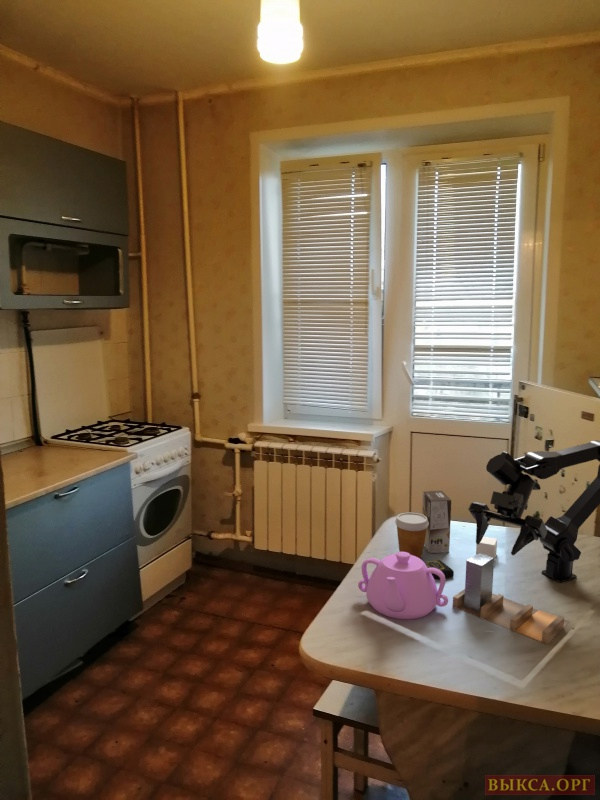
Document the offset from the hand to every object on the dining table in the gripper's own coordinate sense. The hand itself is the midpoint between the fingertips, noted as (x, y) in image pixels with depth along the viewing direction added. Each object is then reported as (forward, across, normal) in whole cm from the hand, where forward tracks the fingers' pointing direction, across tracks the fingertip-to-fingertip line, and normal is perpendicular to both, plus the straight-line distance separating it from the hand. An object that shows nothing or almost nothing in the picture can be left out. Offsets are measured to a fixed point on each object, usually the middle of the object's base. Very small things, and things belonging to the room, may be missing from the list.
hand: (494, 549), depth 149 cm
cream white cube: (-6, -13, +25) cm, 29 cm away
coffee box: (-3, -27, +22) cm, 35 cm away
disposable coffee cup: (+5, -28, +14) cm, 32 cm away
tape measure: (+9, -16, +11) cm, 21 cm away
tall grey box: (+14, 0, +4) cm, 14 cm away
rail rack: (+13, +7, +6) cm, 16 cm away
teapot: (+24, -13, -5) cm, 28 cm away
